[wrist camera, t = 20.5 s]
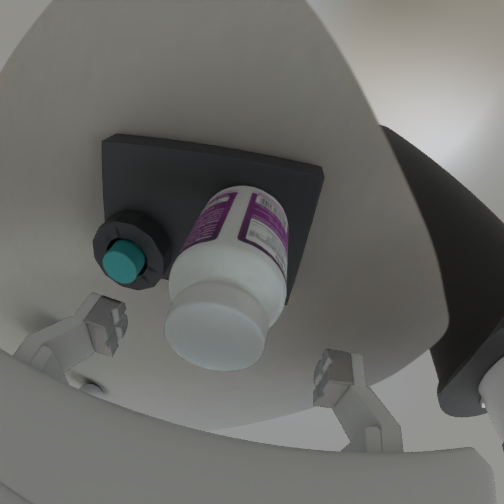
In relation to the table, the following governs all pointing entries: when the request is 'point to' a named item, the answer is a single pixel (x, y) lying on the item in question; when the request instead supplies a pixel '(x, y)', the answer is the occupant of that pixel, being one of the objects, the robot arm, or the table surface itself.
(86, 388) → the sports ball
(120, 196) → the dark grey button base
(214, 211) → the pill bottle
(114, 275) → the button
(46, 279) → the table surface
